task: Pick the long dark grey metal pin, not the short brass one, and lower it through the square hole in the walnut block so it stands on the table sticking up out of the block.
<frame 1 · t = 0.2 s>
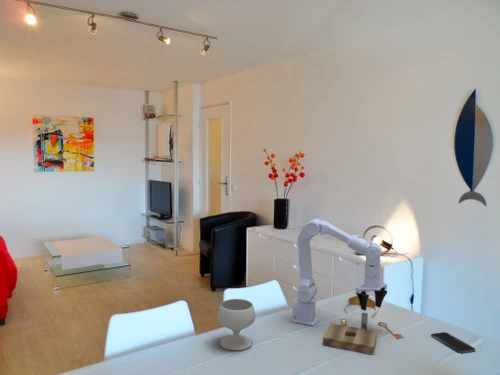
hand: (370, 308, 156), 10 cm above the table, tool pointing down, fingers open, 7 cm apart
key: (391, 332, 160), on the table
phone: (452, 344, 149), on the table
short pin: (343, 329, 160), on the table
long pin: (363, 333, 157), on the table
sunglasses: (360, 311, 181), on the table
hole block: (350, 341, 149), on the table
chalice: (236, 344, 146), on the table
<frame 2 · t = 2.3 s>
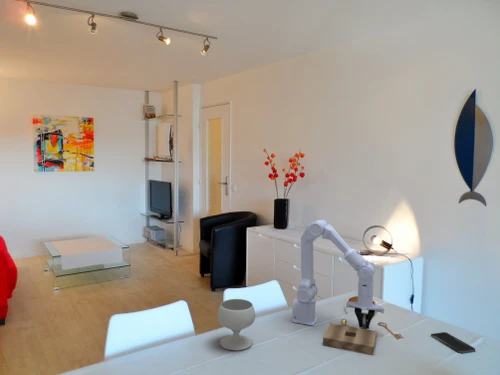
hand: (364, 327, 157), 2 cm above the table, tool pointing down, fingers closed on long pin, 2 cm apart
long pin: (363, 333, 157), on the table, touching gripper
everything else where it was.
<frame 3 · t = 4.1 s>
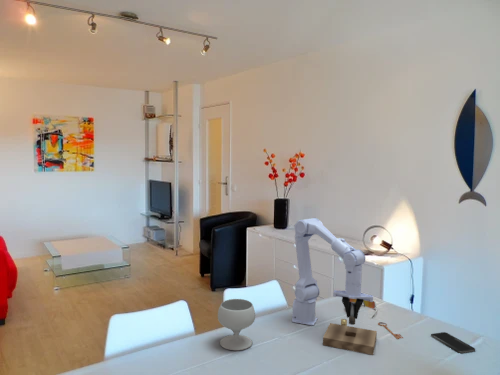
hand: (352, 317, 149), 9 cm above the table, tool pointing down, fingers closed on long pin, 2 cm apart
long pin: (352, 323, 149), point 7 cm above the table, touching gripper
everything else where it was.
when the fingers open (4 cm above the table, at t = 6.2 s): long pin drops 1 cm, resting in hole block.
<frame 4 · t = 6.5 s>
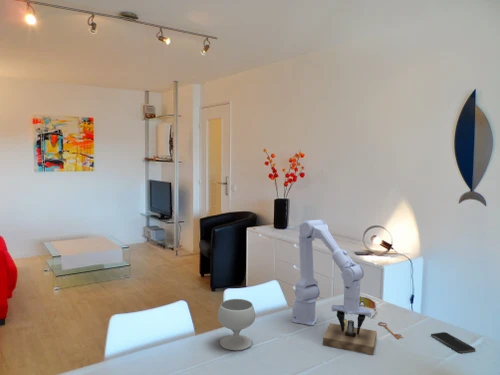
hand: (350, 332, 149), 4 cm above the table, tool pointing down, fingers open, 5 cm apart
long pin: (350, 341, 149), resting in hole block
everything else where it was.
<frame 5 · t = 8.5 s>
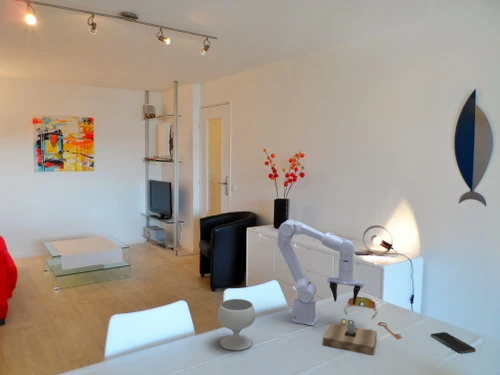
hand: (344, 302, 162), 10 cm above the table, tool pointing down, fingers open, 7 cm apart
nothing on the table moved.
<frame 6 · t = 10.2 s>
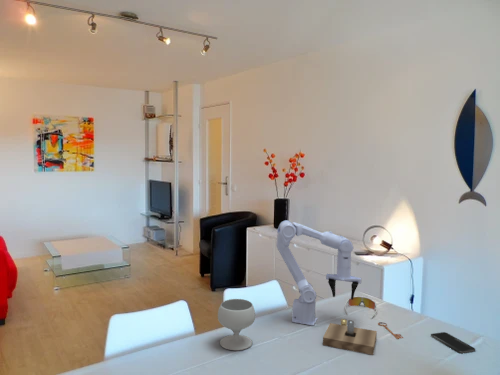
hand: (343, 297, 167), 10 cm above the table, tool pointing down, fingers open, 7 cm apart
nothing on the table moved.
at the end: long pin 0.0 cm off-centre on the hole block, point 0.0 cm above the hole block's base; long pin tilted 0°; short pin moved 0.0 cm from its start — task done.
